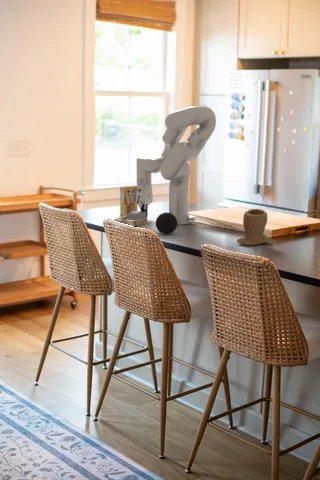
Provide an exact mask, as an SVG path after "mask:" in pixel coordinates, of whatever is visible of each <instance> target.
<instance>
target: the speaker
mask: <svg viewBox="0 0 320 480" xmlns="http://www.w3.org/2000/svg"><path fill="white" fill-rule="evenodd" d="M155 228H156V230H157V231H158V232H159V233H160V234H162V235H170V234H173V233H174V232H175V231H176V230H177V228H178V225H177V219H176V217H175V216H174V215H173V214H171V213H169V212H162V213H160V214H159V215H157V217H156V219H155Z"/></svg>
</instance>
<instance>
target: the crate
mask: <svg viewBox="0 0 320 480" xmlns="http://www.w3.org/2000/svg"><path fill="white" fill-rule="evenodd" d="M144 217H146V212H143V211H141V210H137V211H134V212H131V213H128V220H138V219H141V218H144Z"/></svg>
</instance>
